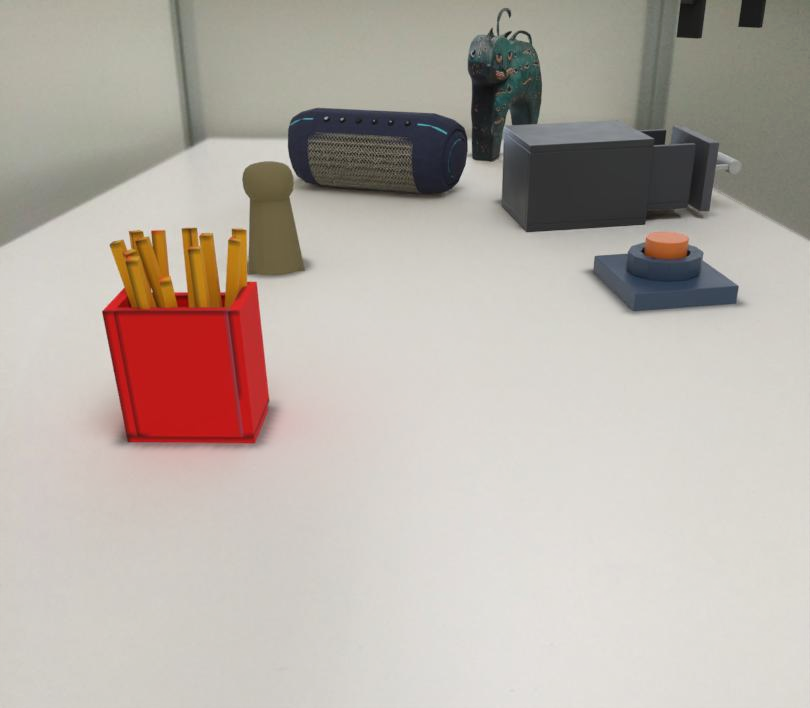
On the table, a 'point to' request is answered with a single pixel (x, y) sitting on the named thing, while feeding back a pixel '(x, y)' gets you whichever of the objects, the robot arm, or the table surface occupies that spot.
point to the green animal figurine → (501, 87)
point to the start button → (666, 245)
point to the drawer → (685, 169)
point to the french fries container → (187, 343)
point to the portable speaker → (377, 150)
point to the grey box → (576, 175)
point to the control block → (664, 280)
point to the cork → (271, 220)
